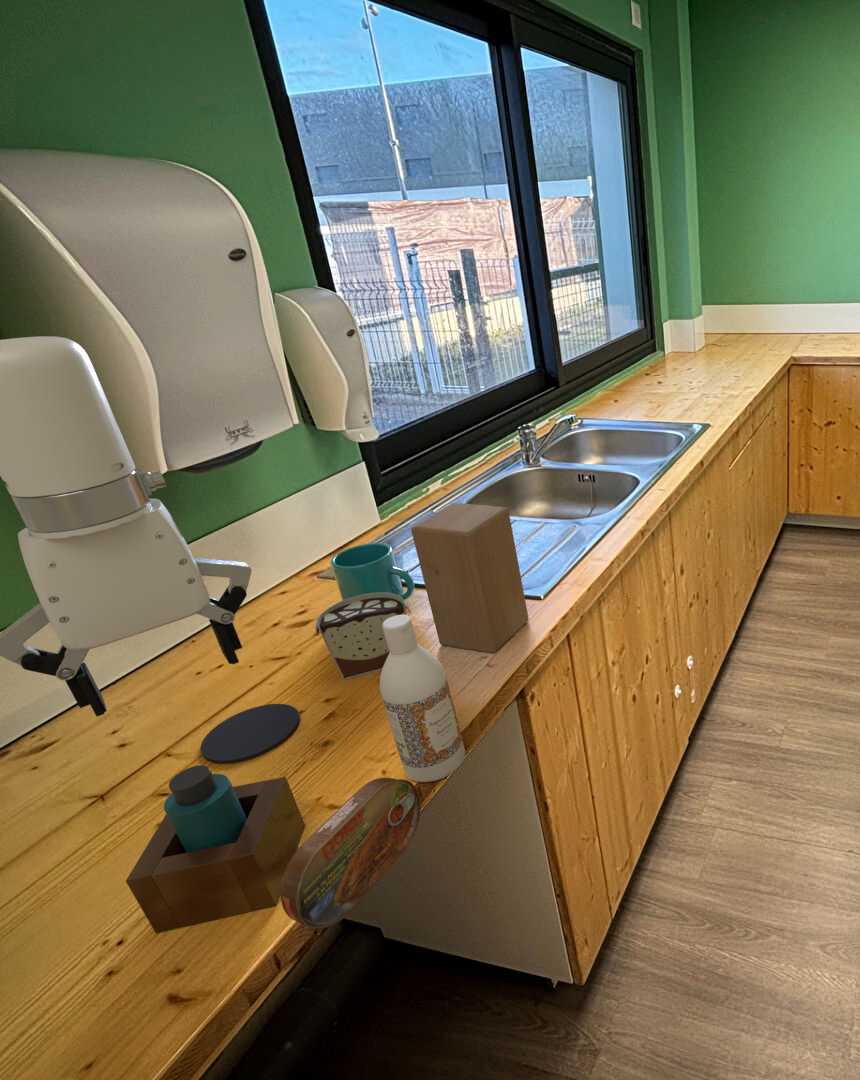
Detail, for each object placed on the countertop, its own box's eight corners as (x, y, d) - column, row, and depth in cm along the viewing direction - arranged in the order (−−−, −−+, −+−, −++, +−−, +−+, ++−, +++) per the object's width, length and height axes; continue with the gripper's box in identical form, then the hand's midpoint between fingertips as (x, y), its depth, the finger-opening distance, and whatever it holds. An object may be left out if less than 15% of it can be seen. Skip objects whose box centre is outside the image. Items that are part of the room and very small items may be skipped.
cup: (407, 630, 112) (390, 568, 107) (337, 629, 113) (317, 567, 108) (433, 601, 120) (419, 542, 115) (368, 601, 121) (351, 542, 117)
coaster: (186, 772, 84) (184, 768, 84) (221, 715, 94) (220, 712, 94) (286, 753, 87) (284, 750, 86) (310, 700, 96) (309, 697, 96)
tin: (317, 950, 63) (288, 884, 59) (291, 940, 64) (261, 875, 60) (430, 823, 76) (412, 763, 72) (406, 816, 76) (388, 757, 73)
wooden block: (438, 645, 107) (408, 527, 99) (477, 613, 116) (453, 501, 108) (494, 654, 104) (468, 533, 96) (530, 620, 113) (509, 506, 105)
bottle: (196, 903, 68) (144, 803, 62) (217, 860, 72) (170, 764, 67) (256, 890, 69) (209, 791, 63) (272, 848, 73) (231, 752, 68)
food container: (420, 639, 109) (405, 583, 105) (423, 659, 104) (408, 600, 100) (333, 661, 105) (313, 603, 101) (331, 683, 100) (311, 623, 95)
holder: (155, 933, 65) (125, 881, 62) (200, 847, 74) (175, 797, 71) (276, 906, 67) (252, 854, 64) (305, 825, 76) (285, 776, 73)
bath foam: (433, 792, 80) (390, 644, 71) (392, 773, 83) (347, 629, 74) (478, 754, 85) (444, 612, 77) (438, 737, 88) (401, 599, 80)
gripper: (204, 464, 62) (266, 627, 70) (-70, 525, 52) (37, 710, 59) (224, 482, 57) (288, 656, 65) (-74, 554, 47) (43, 752, 54)
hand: (168, 682), depth 62 cm, fingers open, 9 cm apart
